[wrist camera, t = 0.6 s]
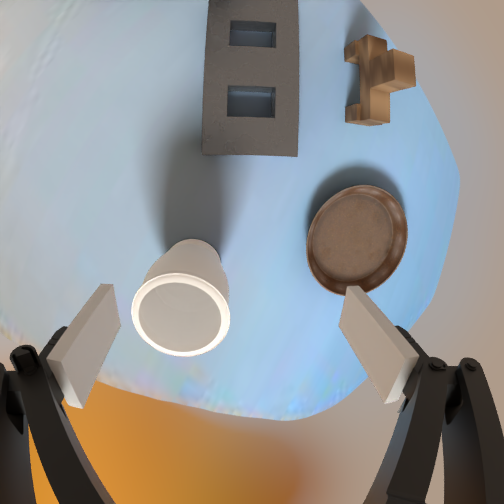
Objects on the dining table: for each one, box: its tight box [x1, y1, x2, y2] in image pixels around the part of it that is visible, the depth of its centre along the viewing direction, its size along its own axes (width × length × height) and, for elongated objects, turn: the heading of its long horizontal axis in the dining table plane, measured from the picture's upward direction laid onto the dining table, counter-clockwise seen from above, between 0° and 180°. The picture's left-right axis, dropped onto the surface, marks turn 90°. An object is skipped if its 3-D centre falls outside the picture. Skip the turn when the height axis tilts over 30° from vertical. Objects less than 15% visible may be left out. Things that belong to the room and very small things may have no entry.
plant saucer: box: [306, 185, 408, 296], centre depth 42 cm, size 18×18×3 cm
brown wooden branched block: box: [344, 34, 416, 126], centre depth 29 cm, size 12×4×13 cm, turn 179°
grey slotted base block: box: [202, 0, 299, 157], centre depth 32 cm, size 24×12×4 cm, turn 179°
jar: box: [132, 239, 230, 357], centre depth 35 cm, size 11×10×15 cm
